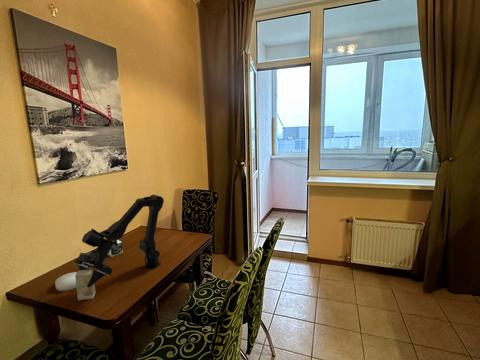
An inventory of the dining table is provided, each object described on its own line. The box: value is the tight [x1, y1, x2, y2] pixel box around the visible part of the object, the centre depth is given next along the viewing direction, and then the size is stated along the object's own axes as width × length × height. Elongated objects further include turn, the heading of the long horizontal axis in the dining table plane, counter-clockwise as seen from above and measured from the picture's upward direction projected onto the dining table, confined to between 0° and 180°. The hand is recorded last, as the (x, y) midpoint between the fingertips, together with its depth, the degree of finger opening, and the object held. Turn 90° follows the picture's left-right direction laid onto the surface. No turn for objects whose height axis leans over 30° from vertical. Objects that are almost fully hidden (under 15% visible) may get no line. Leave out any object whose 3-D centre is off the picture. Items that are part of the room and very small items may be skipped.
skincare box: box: [75, 268, 97, 301], centre depth 114 cm, size 6×4×12 cm
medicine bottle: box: [107, 239, 124, 257], centre depth 155 cm, size 7×7×12 cm
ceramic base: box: [54, 271, 78, 292], centre depth 124 cm, size 11×11×3 cm
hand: (82, 285), depth 112 cm, fingers closed on skincare box, 7 cm apart
